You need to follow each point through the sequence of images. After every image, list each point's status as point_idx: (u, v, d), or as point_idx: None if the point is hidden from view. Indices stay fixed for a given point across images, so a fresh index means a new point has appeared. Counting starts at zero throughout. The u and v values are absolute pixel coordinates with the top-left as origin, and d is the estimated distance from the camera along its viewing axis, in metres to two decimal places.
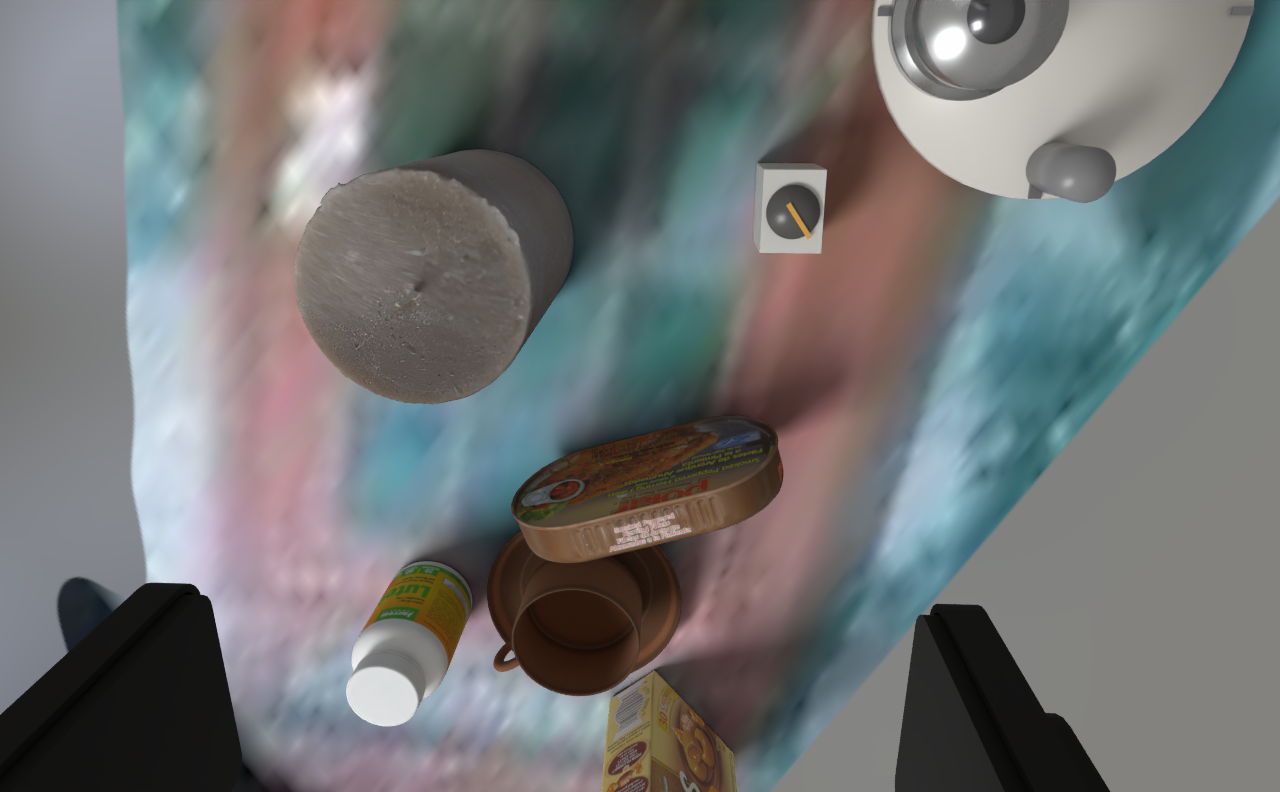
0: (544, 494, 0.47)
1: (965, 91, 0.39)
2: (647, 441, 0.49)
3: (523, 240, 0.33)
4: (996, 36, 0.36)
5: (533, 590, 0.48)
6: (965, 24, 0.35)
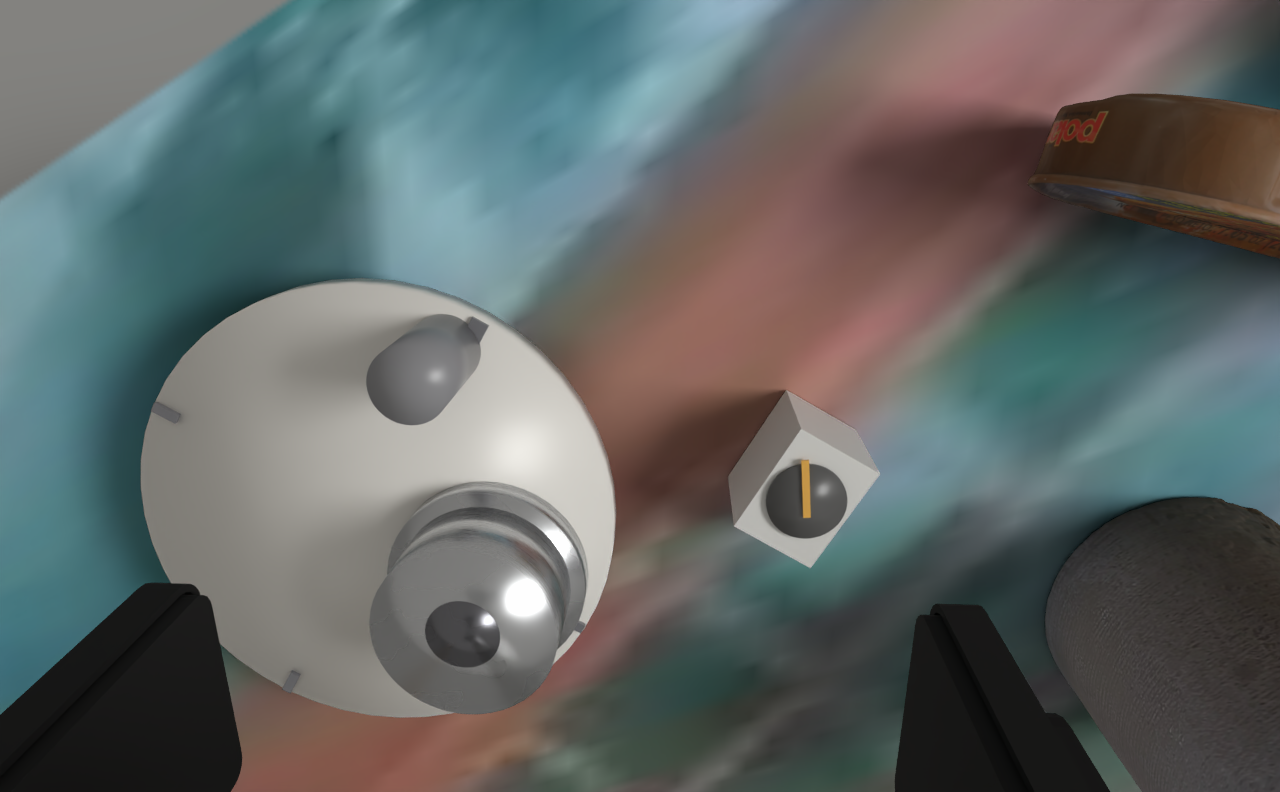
0: None
1: (521, 514, 0.28)
2: (1210, 227, 0.27)
3: None
4: (470, 610, 0.26)
5: None
6: (502, 642, 0.26)
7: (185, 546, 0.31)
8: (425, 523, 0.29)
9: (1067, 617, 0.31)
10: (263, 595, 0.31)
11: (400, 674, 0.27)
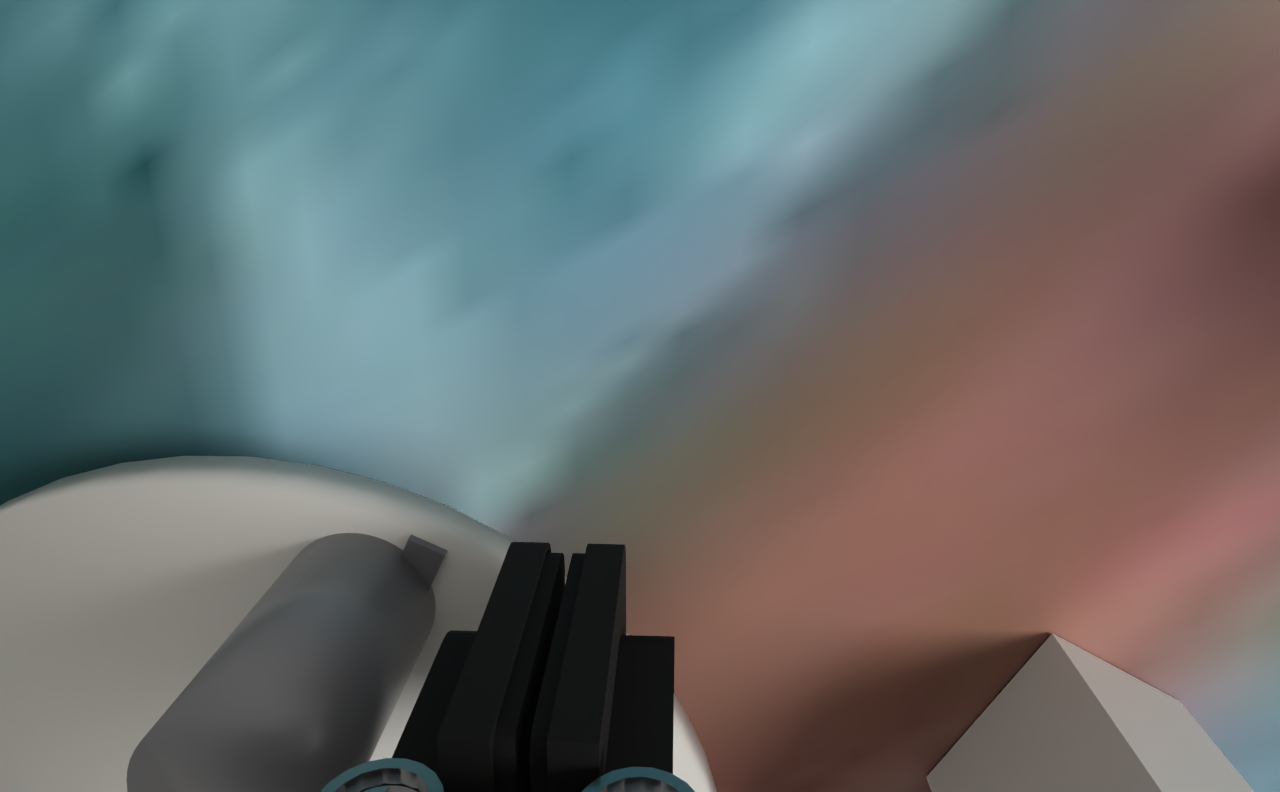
0: None
1: None
2: None
3: None
4: None
5: None
6: None
7: None
8: None
9: None
10: None
11: None
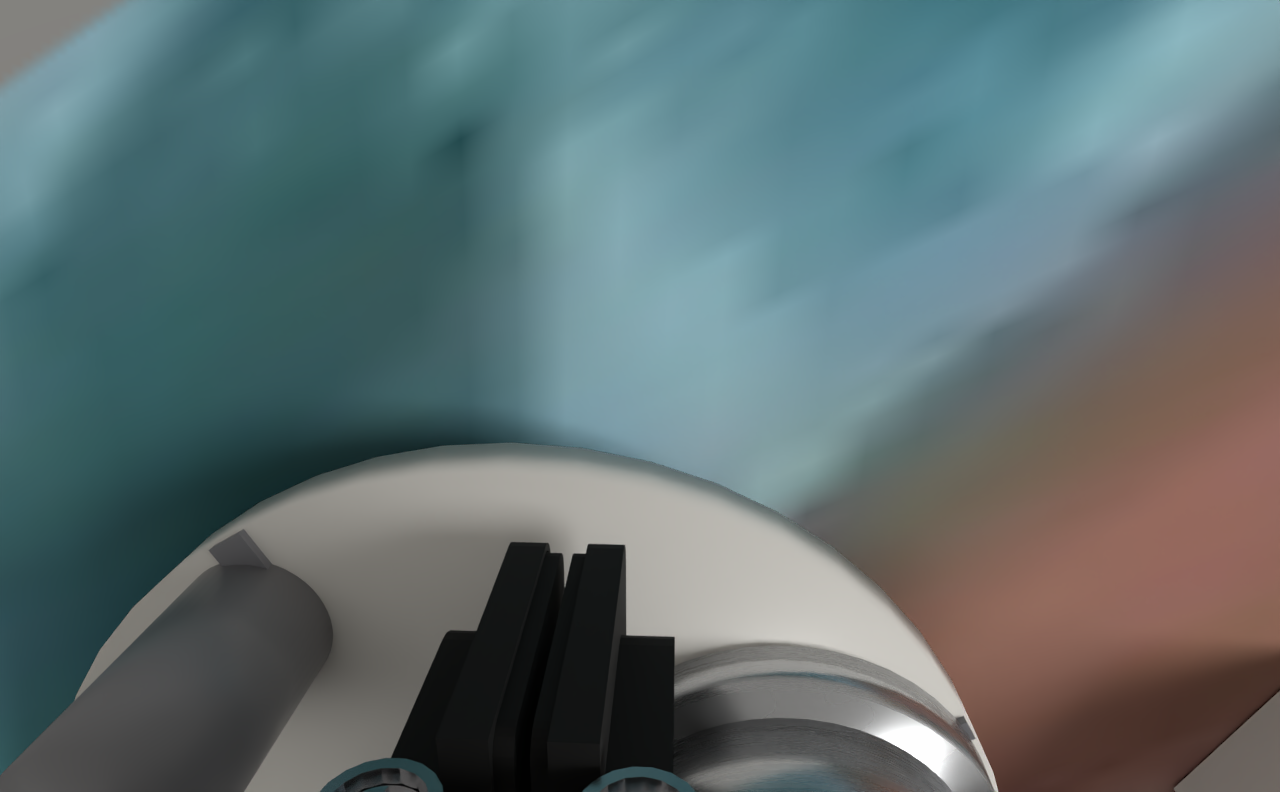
0: None
1: (688, 728, 0.12)
2: None
3: None
4: None
5: None
6: None
7: None
8: None
9: None
10: None
11: None
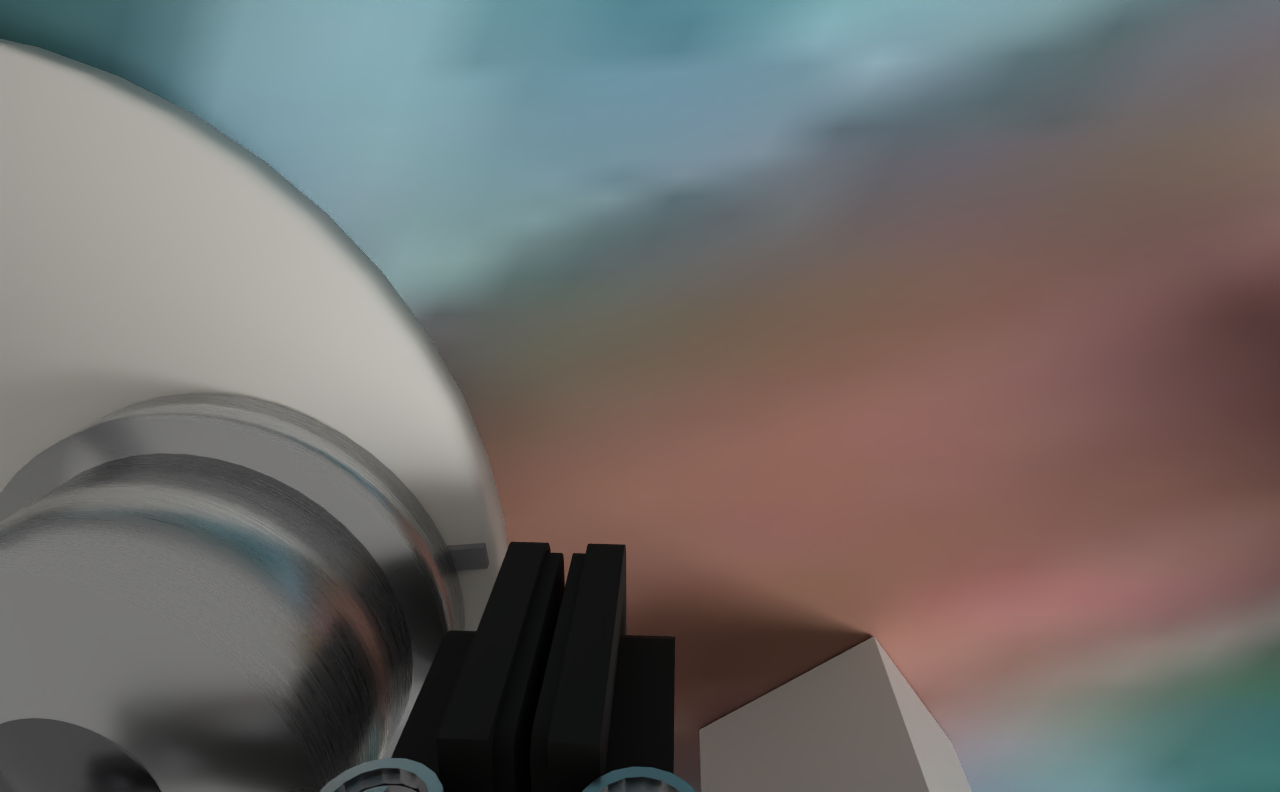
0: None
1: (146, 447, 0.11)
2: None
3: None
4: (28, 739, 0.09)
5: None
6: (156, 774, 0.09)
7: None
8: None
9: None
10: None
11: None
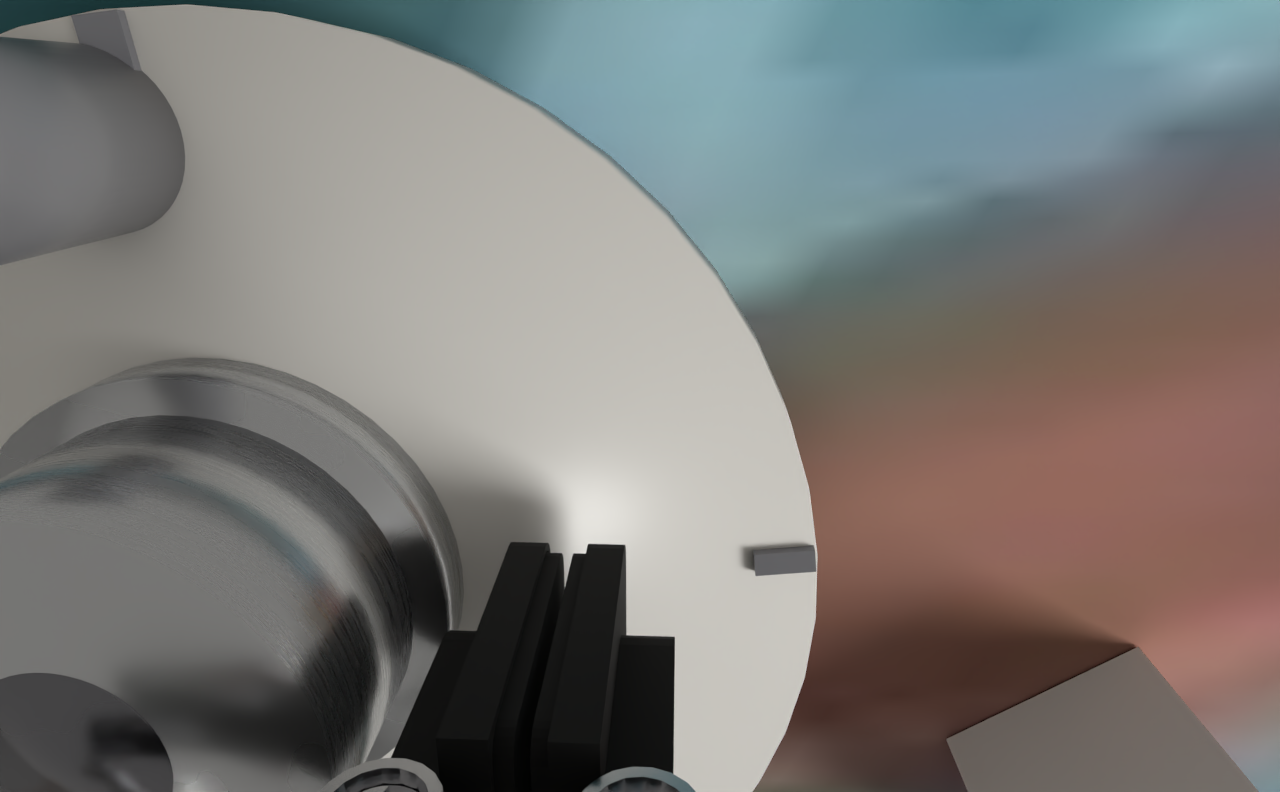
0: None
1: (146, 408, 0.11)
2: None
3: None
4: (29, 695, 0.09)
5: None
6: (161, 729, 0.09)
7: None
8: None
9: None
10: None
11: None
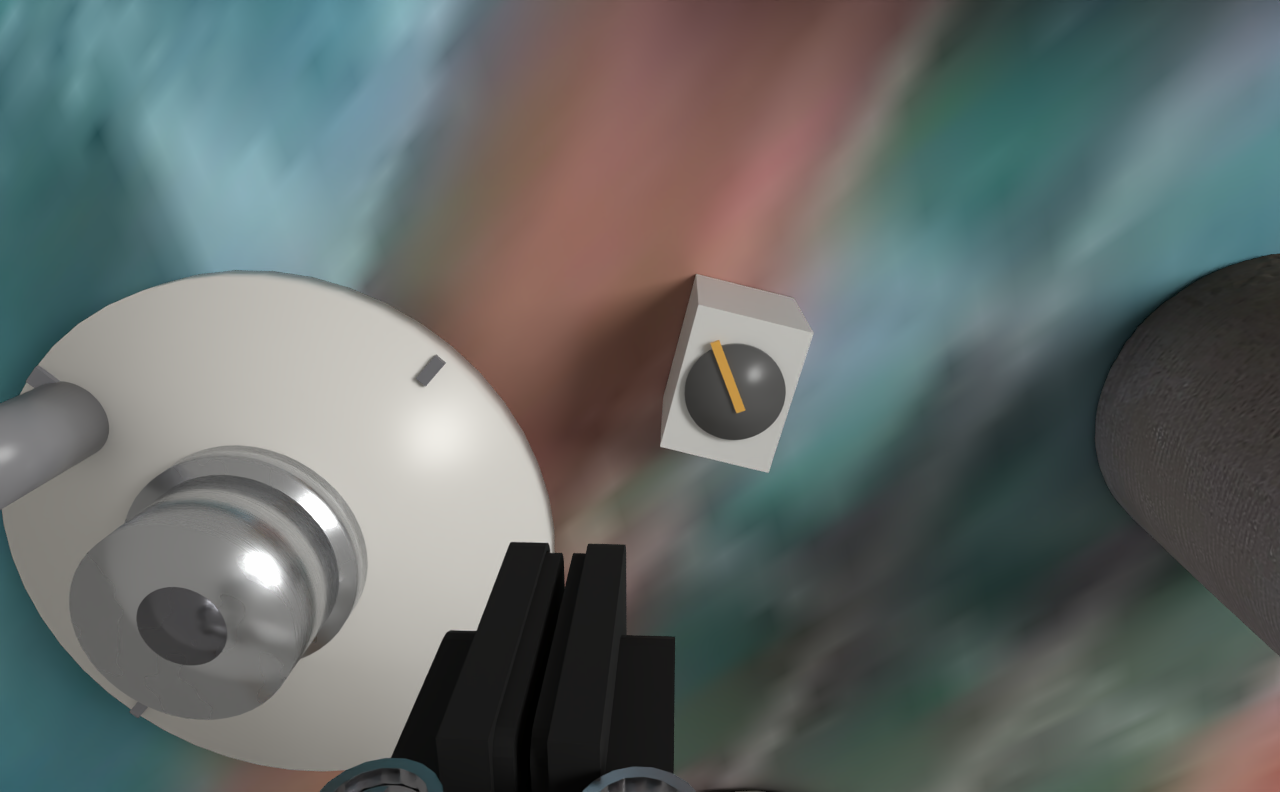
0: None
1: (151, 501, 0.24)
2: None
3: None
4: (150, 608, 0.22)
5: None
6: (195, 589, 0.22)
7: (296, 742, 0.28)
8: None
9: (1120, 452, 0.24)
10: (362, 692, 0.27)
11: (232, 705, 0.23)
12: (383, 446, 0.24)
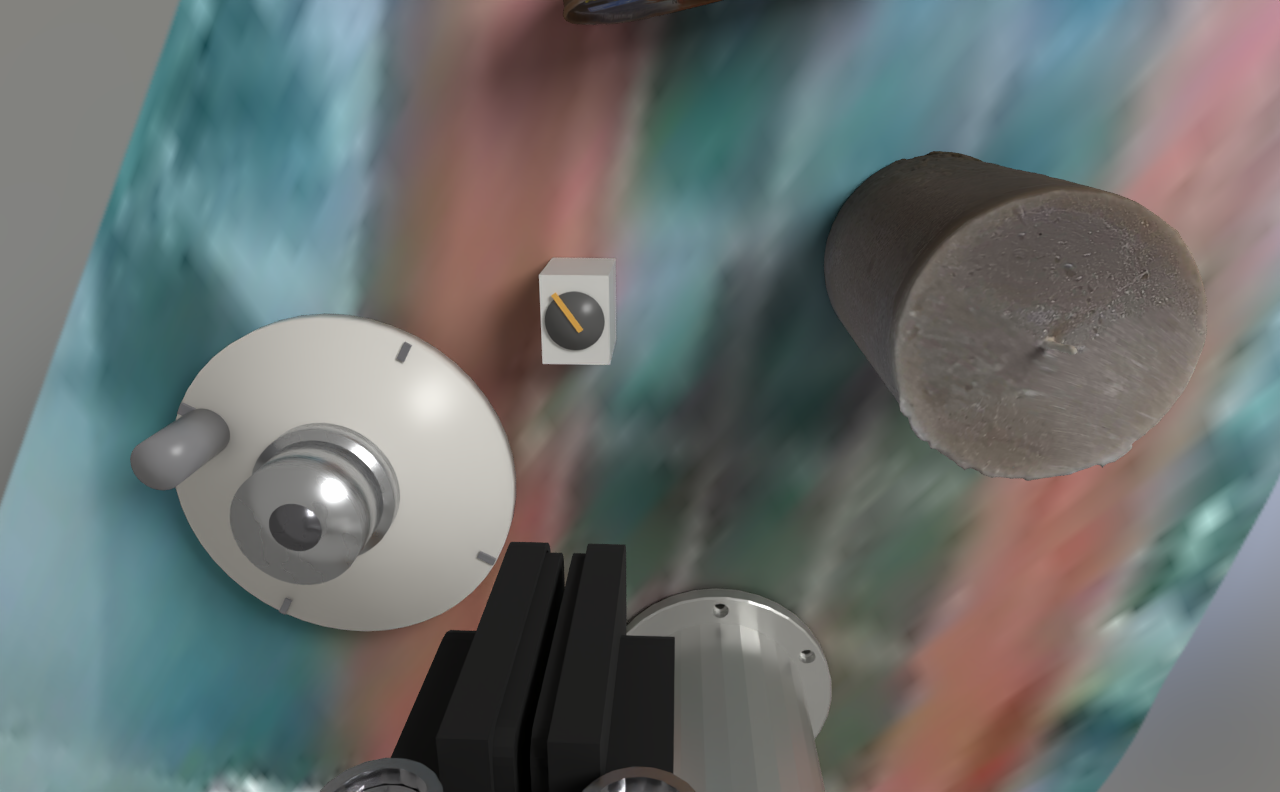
0: None
1: None
2: None
3: (893, 387, 0.28)
4: (275, 520, 0.38)
5: None
6: (297, 503, 0.37)
7: (384, 610, 0.44)
8: None
9: (834, 305, 0.38)
10: (416, 567, 0.43)
11: (333, 570, 0.39)
12: (389, 405, 0.40)
